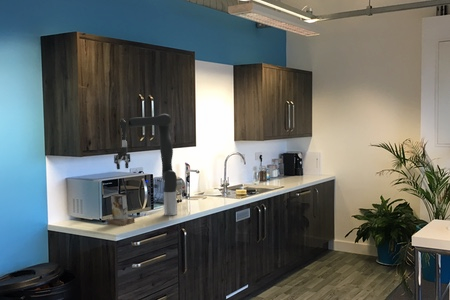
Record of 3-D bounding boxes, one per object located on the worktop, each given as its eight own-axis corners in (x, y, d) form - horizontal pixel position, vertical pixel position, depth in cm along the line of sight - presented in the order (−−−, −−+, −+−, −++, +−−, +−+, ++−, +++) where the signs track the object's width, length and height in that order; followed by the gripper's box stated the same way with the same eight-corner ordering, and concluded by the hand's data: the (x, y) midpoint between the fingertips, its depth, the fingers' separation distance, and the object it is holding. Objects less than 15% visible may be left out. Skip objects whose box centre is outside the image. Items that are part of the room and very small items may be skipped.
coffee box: (128, 217, 339) (127, 194, 338) (123, 219, 333) (122, 196, 332) (116, 216, 342) (115, 194, 341) (111, 219, 336) (110, 195, 335)
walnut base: (119, 221, 348) (118, 216, 347) (134, 223, 341) (134, 217, 341) (107, 224, 337) (107, 219, 337) (123, 226, 330) (122, 220, 330)
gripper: (124, 145, 362) (125, 167, 363) (110, 146, 350) (111, 169, 351) (132, 145, 358) (133, 168, 359) (118, 146, 346) (119, 169, 347)
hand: (122, 168), depth 355 cm, fingers open, 8 cm apart
